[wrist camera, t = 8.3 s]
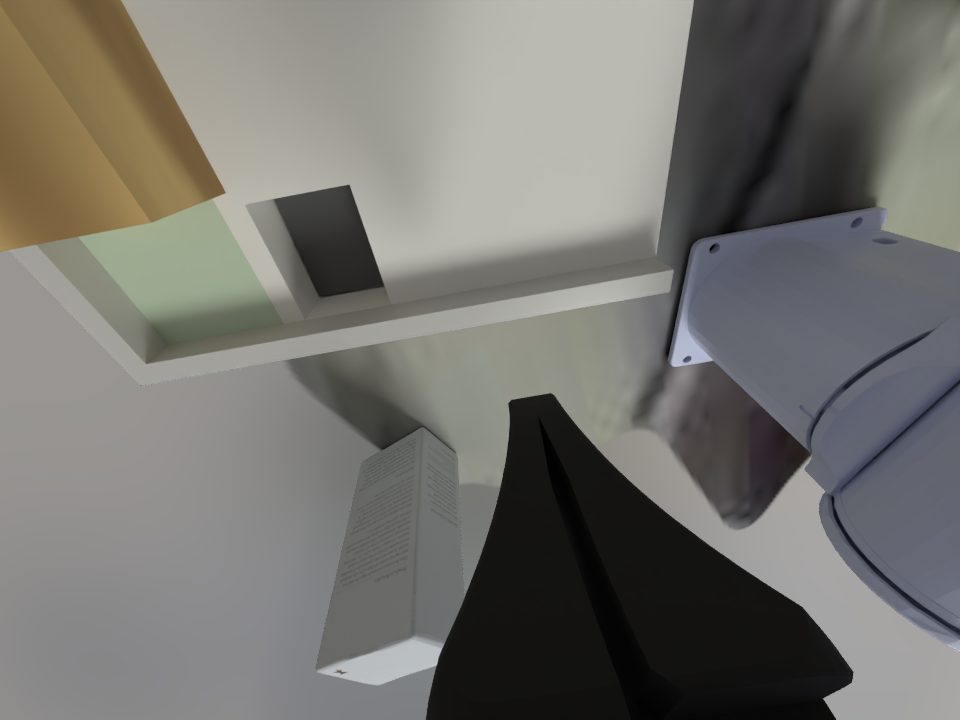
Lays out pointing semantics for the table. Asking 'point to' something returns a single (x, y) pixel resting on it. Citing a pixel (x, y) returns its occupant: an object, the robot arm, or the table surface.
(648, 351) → the table surface
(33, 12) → the ochre block
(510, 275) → the trap box
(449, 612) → the skincare box
